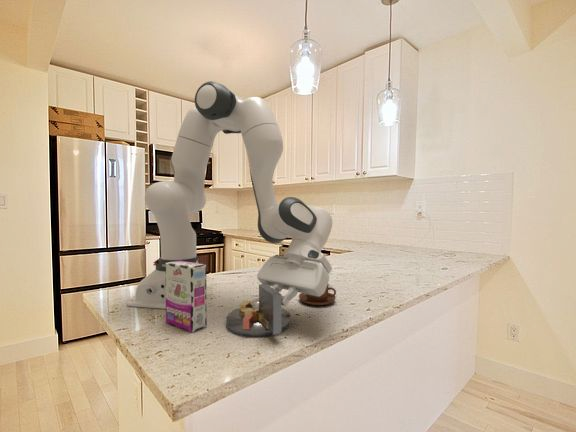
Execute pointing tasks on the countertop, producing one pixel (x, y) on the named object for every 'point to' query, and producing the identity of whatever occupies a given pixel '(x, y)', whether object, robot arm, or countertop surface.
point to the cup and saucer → (319, 298)
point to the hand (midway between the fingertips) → (278, 303)
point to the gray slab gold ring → (265, 309)
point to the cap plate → (257, 327)
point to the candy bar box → (186, 295)
